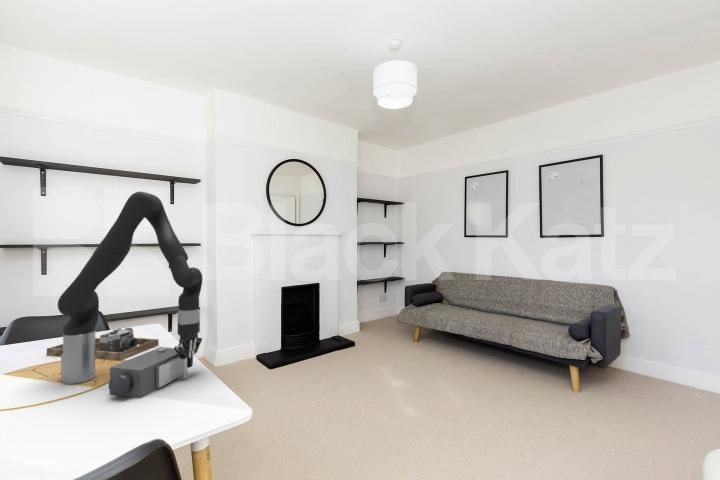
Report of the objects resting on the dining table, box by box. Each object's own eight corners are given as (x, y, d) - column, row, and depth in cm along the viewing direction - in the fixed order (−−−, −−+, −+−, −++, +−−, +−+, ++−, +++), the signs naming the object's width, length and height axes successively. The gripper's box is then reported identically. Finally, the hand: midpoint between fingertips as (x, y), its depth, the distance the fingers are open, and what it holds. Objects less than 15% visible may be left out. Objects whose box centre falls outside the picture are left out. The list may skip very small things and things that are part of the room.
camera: (116, 358, 150) (116, 335, 150) (96, 356, 152) (96, 333, 152) (145, 347, 165) (145, 326, 165) (127, 345, 167) (127, 325, 167)
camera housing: (101, 398, 112) (101, 368, 112) (160, 369, 137) (160, 345, 137) (133, 402, 110) (133, 371, 110) (187, 372, 134) (187, 347, 134)
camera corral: (91, 357, 150) (91, 350, 150) (132, 343, 170) (132, 337, 170) (120, 360, 147) (120, 353, 147) (158, 345, 167) (158, 339, 167)
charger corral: (46, 355, 153) (46, 348, 153) (86, 343, 170) (86, 337, 170) (74, 357, 150) (74, 350, 150) (111, 345, 167) (111, 339, 167)
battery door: (156, 387, 118) (156, 366, 118) (177, 375, 128) (177, 357, 128) (166, 388, 118) (166, 367, 118) (187, 376, 127) (187, 357, 127)
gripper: (191, 316, 138) (191, 360, 138) (167, 324, 125) (167, 372, 125) (208, 317, 136) (208, 361, 136) (185, 325, 123) (185, 374, 123)
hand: (188, 366), depth 131 cm, fingers closed
